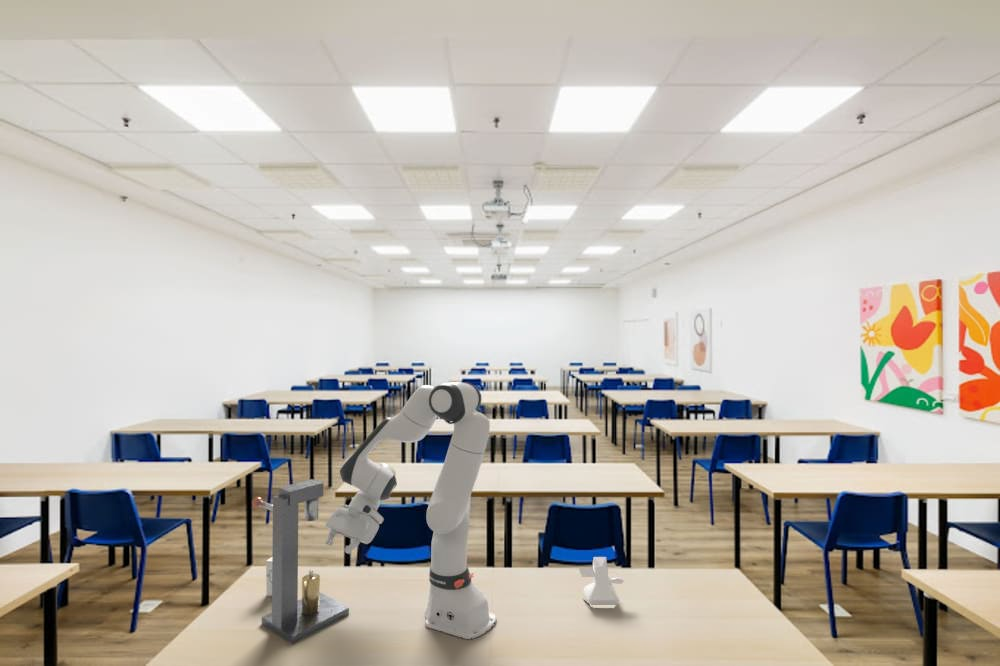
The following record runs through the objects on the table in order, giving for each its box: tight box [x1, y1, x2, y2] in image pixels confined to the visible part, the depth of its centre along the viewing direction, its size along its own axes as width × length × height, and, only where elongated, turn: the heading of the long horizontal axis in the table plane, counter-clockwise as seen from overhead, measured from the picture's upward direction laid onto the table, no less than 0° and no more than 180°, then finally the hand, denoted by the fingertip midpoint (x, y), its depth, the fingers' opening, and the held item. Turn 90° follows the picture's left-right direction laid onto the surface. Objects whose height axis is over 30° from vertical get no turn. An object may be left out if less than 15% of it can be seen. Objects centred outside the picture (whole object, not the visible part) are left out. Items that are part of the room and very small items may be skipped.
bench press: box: [251, 478, 350, 645], centre depth 159 cm, size 25×19×41 cm
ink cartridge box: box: [265, 556, 272, 597], centre depth 173 cm, size 9×5×15 cm, turn 168°
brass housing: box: [301, 569, 321, 615], centre depth 158 cm, size 5×5×12 cm
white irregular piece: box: [578, 556, 625, 606], centre depth 168 cm, size 8×14×14 cm, turn 91°
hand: (337, 548), depth 165 cm, fingers open, 8 cm apart
